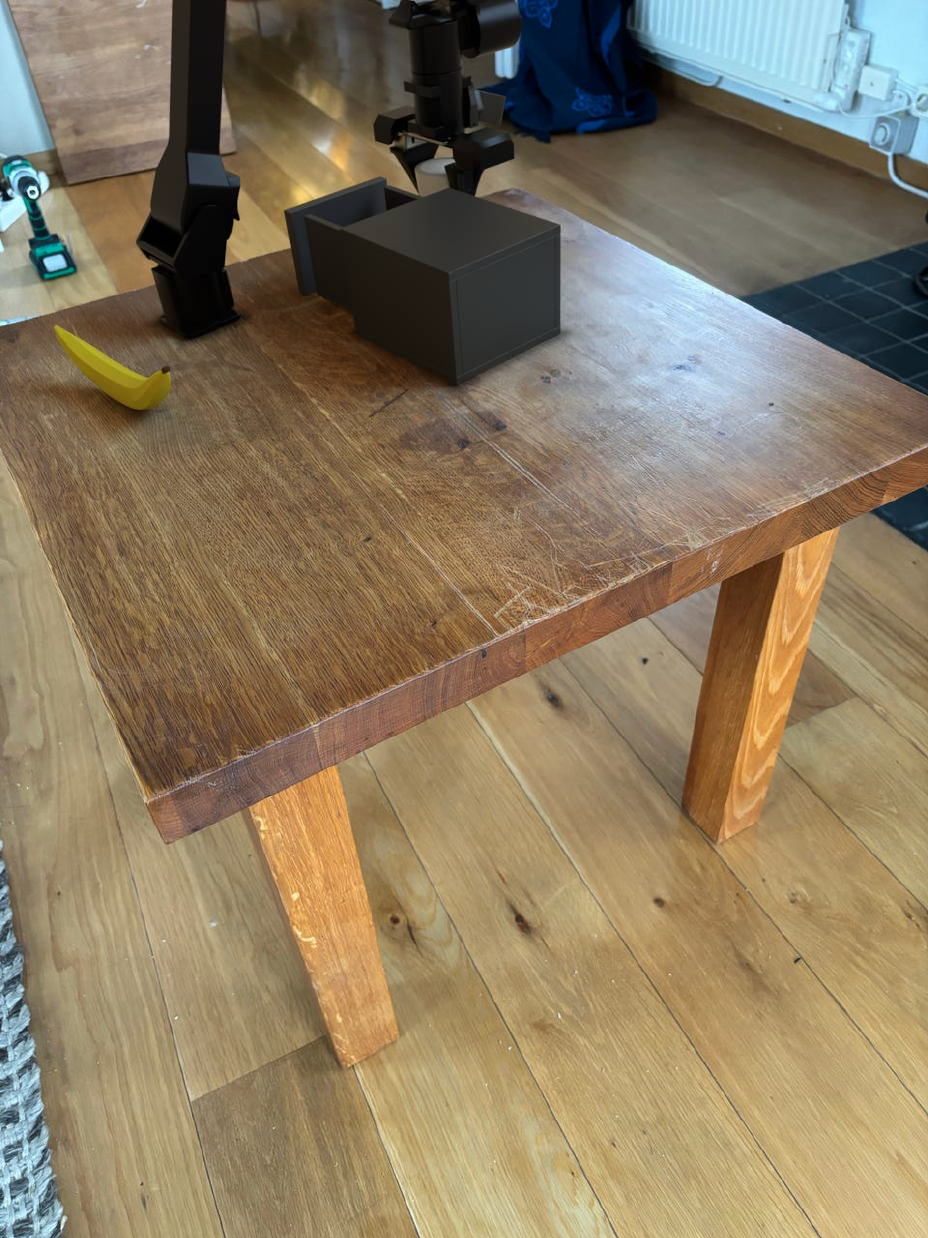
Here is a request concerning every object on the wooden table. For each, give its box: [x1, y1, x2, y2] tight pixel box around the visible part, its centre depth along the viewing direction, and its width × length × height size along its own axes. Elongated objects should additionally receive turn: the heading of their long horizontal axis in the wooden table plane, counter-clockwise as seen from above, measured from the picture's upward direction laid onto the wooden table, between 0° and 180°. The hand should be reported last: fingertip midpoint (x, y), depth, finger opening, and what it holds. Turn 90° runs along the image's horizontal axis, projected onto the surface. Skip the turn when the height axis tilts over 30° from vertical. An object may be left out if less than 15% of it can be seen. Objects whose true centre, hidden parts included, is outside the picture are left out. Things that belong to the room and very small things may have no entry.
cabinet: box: [340, 188, 562, 386], centre depth 93 cm, size 16×14×11 cm
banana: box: [53, 324, 172, 411], centre depth 89 cm, size 3×19×6 cm, turn 48°
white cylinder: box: [415, 156, 455, 197], centre depth 115 cm, size 7×7×7 cm
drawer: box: [283, 175, 423, 313], centre depth 100 cm, size 19×12×9 cm, turn 42°
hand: (447, 213), depth 116 cm, fingers closed on white cylinder, 6 cm apart
